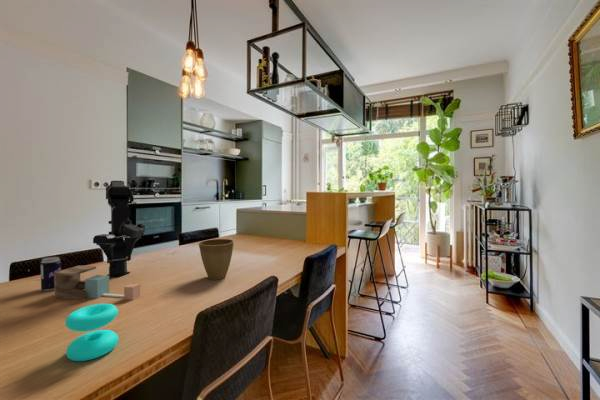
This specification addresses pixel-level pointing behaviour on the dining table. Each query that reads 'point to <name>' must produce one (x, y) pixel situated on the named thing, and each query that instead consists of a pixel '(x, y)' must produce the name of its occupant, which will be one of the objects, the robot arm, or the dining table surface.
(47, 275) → the beverage can
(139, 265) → the dining table surface
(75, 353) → the donuts
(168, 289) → the dining table surface
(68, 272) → the shelf lane
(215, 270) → the plant pot
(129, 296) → the tethered block
